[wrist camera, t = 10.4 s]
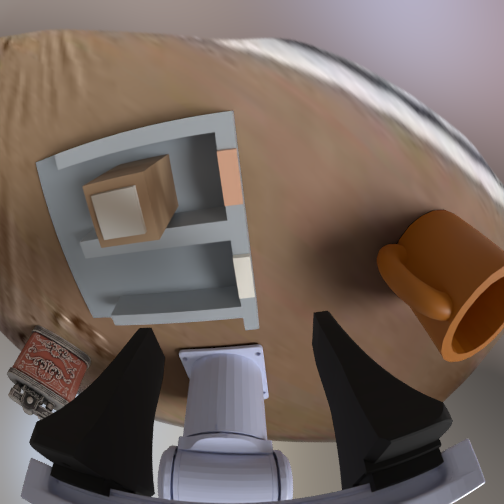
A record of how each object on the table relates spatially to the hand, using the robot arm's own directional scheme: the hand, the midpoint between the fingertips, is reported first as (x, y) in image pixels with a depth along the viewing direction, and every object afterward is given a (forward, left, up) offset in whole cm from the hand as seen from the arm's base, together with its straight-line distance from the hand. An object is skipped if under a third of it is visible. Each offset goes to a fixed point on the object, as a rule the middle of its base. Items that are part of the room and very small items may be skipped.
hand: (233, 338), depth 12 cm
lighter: (-10, +22, -10) cm, 26 cm away
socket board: (+2, +7, -9) cm, 12 cm away
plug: (+5, +5, -9) cm, 11 cm away
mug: (-3, -16, -10) cm, 19 cm away
